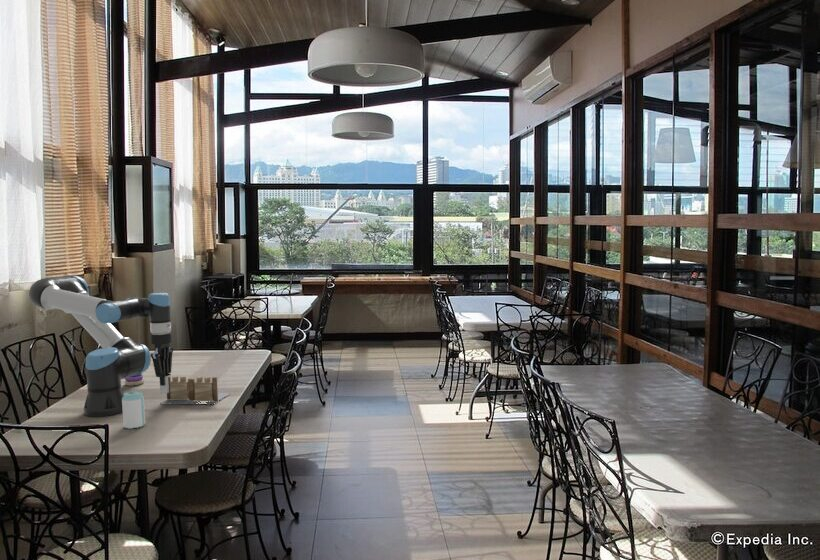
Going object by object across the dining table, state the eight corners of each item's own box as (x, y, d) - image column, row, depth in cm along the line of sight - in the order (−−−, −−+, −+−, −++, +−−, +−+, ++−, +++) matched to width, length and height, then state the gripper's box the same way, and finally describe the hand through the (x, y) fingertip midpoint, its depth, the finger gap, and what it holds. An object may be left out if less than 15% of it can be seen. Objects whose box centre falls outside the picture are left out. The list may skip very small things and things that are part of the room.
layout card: (212, 405, 260) (212, 403, 260) (160, 404, 263) (160, 402, 263) (230, 394, 276) (230, 393, 276) (180, 393, 279) (180, 392, 279)
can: (119, 429, 232) (117, 395, 231) (131, 423, 239) (129, 390, 238) (137, 430, 231) (135, 396, 230) (149, 423, 238) (147, 390, 237)
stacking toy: (147, 381, 301) (145, 340, 299) (138, 386, 293) (136, 344, 291) (130, 381, 302) (128, 340, 300) (121, 386, 294) (118, 344, 292)
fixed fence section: (216, 402, 264) (215, 378, 263) (188, 401, 266) (186, 377, 265) (219, 400, 266) (217, 376, 265) (191, 400, 268) (189, 376, 267)
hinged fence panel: (187, 399, 266) (186, 377, 265) (166, 399, 267) (164, 377, 266) (189, 398, 268) (188, 376, 267) (168, 398, 269) (167, 376, 268)
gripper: (161, 336, 252) (165, 397, 254) (178, 330, 265) (181, 388, 267) (142, 335, 253) (146, 397, 255) (160, 330, 266) (164, 388, 268)
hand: (164, 392), depth 261 cm, fingers closed
